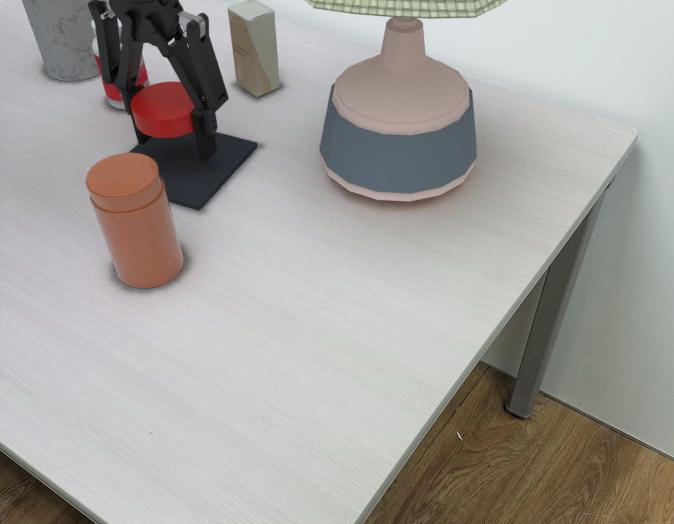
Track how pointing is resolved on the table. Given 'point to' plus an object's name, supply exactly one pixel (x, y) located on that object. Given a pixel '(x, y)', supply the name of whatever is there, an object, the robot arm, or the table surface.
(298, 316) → the table surface
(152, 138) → the coaster
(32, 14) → the gray plant pot
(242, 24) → the box
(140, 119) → the lid
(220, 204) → the table surface
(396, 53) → the desk lamp
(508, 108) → the table surface
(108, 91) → the pill bottle
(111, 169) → the jar
